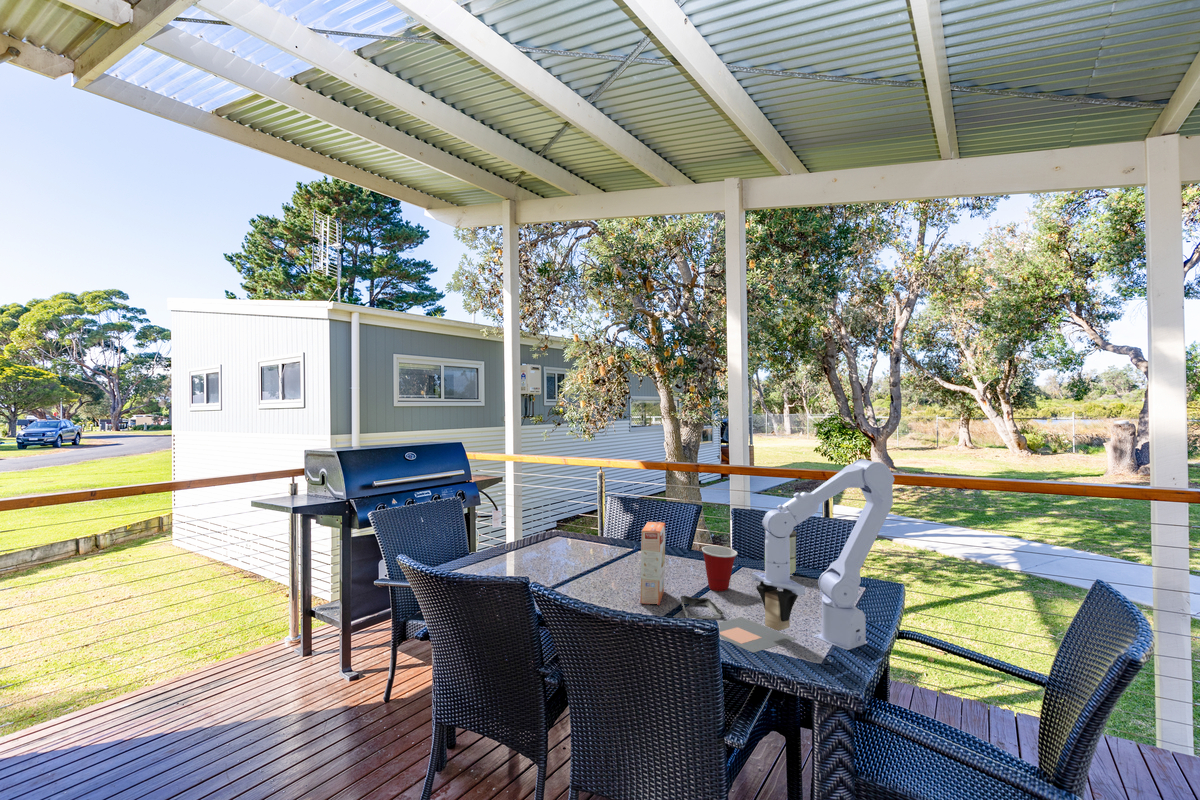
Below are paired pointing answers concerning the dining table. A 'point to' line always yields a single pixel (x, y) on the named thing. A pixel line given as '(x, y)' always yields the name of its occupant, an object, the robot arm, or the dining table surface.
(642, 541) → the cracker box
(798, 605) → the dining table surface
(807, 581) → the dining table surface
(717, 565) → the plastic cup
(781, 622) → the maple block
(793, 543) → the coffee can
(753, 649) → the rubber mat
